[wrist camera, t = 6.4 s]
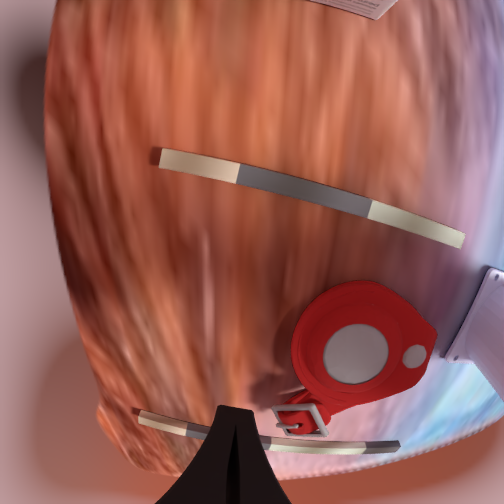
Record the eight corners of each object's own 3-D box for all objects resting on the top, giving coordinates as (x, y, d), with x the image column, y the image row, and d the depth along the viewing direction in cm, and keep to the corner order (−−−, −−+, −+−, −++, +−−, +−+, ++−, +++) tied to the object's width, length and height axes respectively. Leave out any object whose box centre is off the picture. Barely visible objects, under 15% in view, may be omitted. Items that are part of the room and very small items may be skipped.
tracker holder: (294, 273, 16) (462, 300, 14) (300, 264, 20) (437, 286, 18) (260, 447, 17) (399, 464, 15) (271, 413, 22) (390, 430, 20)
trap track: (508, 252, 16) (515, 255, 16) (393, 446, 23) (395, 452, 22) (166, 148, 15) (162, 148, 14) (141, 416, 22) (138, 423, 21)
